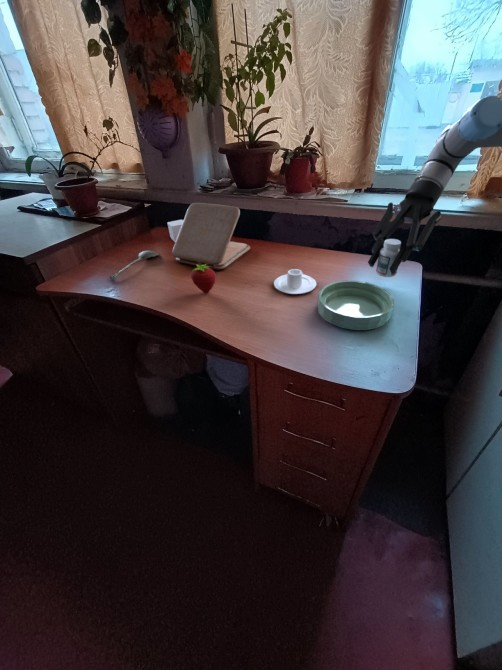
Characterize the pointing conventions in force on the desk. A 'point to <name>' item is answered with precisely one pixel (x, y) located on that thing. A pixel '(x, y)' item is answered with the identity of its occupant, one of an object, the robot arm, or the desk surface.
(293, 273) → the candle holder
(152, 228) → the desk surface
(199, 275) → the strawberry
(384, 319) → the bowl
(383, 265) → the pill bottle
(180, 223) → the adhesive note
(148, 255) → the soupspoon
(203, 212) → the case
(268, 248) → the desk surface
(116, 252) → the desk surface
